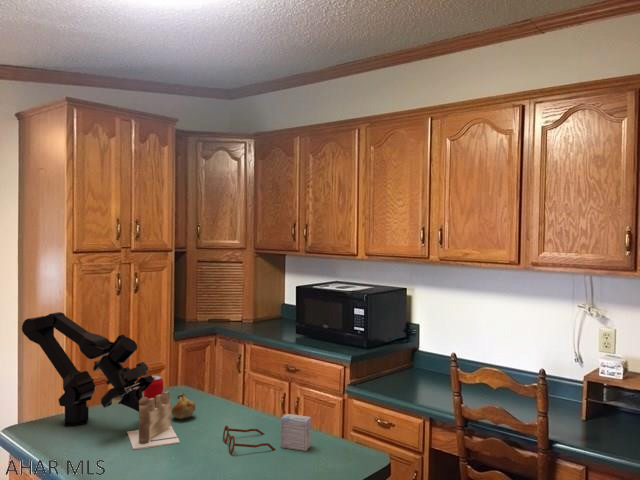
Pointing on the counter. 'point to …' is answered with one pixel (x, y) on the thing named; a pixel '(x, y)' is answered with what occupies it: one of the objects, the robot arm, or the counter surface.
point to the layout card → (154, 439)
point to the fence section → (159, 414)
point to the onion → (183, 407)
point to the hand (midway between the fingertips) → (144, 412)
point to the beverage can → (154, 388)
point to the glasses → (242, 444)
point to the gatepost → (144, 420)
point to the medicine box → (296, 432)
